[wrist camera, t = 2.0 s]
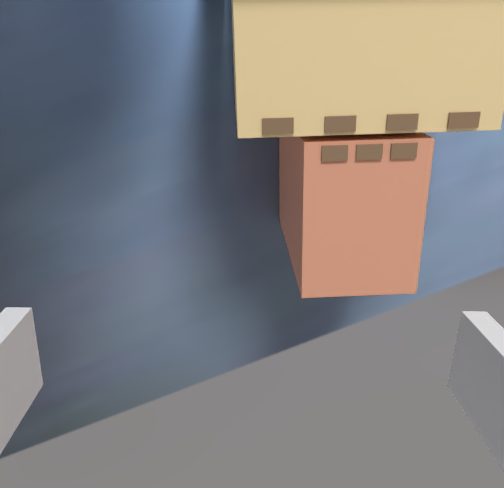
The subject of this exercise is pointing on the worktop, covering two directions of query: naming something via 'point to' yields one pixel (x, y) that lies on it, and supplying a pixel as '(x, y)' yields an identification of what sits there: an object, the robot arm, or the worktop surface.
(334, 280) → the stub
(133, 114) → the worktop surface
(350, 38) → the block
